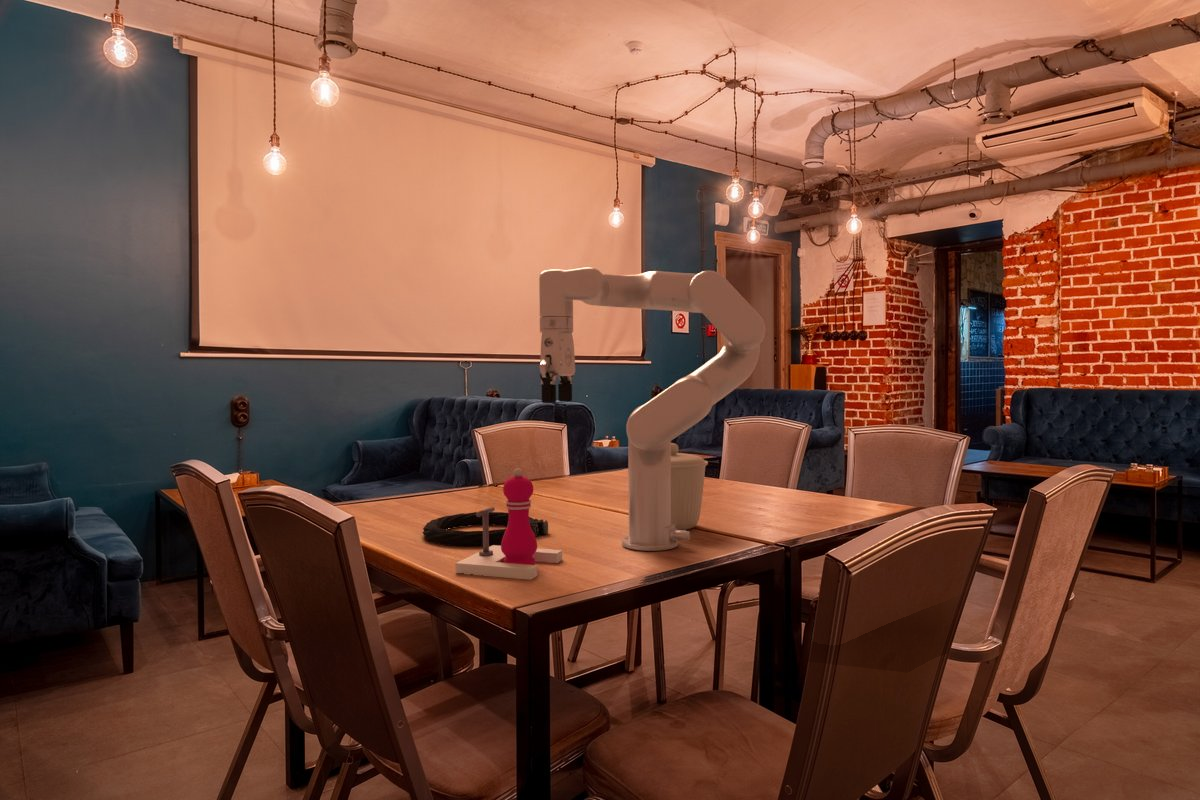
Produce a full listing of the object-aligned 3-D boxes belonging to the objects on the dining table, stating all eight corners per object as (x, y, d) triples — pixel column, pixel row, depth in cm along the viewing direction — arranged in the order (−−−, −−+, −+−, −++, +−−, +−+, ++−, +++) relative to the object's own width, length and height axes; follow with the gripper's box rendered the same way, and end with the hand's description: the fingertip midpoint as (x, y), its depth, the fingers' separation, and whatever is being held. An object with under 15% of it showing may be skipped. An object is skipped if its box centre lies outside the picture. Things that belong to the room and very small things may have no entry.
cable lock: (437, 510, 198) (552, 509, 197) (437, 525, 198) (552, 524, 198) (408, 532, 170) (542, 531, 170) (408, 549, 170) (542, 548, 170)
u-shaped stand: (562, 559, 158) (561, 505, 158) (530, 579, 143) (530, 520, 143) (493, 554, 163) (492, 502, 163) (455, 573, 148) (454, 515, 148)
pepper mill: (498, 565, 154) (496, 467, 154) (533, 562, 156) (531, 465, 156) (504, 574, 147) (503, 471, 147) (541, 570, 150) (539, 469, 149)
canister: (674, 517, 203) (673, 438, 202) (723, 528, 189) (723, 443, 188) (621, 525, 192) (620, 442, 192) (668, 538, 178) (668, 448, 177)
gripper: (557, 323, 161) (558, 403, 162) (585, 327, 178) (586, 400, 178) (525, 324, 164) (526, 403, 164) (555, 328, 180) (556, 400, 181)
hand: (557, 401), depth 171 cm, fingers open, 9 cm apart
